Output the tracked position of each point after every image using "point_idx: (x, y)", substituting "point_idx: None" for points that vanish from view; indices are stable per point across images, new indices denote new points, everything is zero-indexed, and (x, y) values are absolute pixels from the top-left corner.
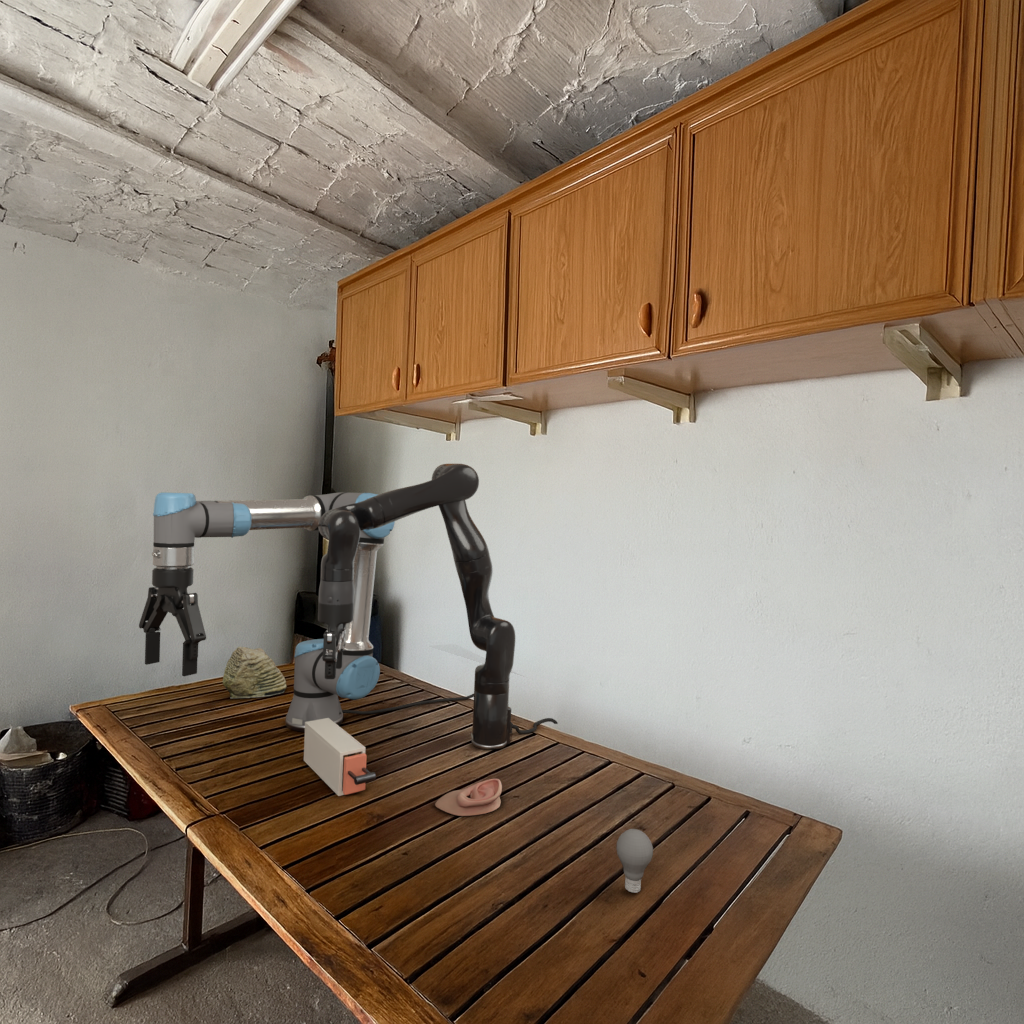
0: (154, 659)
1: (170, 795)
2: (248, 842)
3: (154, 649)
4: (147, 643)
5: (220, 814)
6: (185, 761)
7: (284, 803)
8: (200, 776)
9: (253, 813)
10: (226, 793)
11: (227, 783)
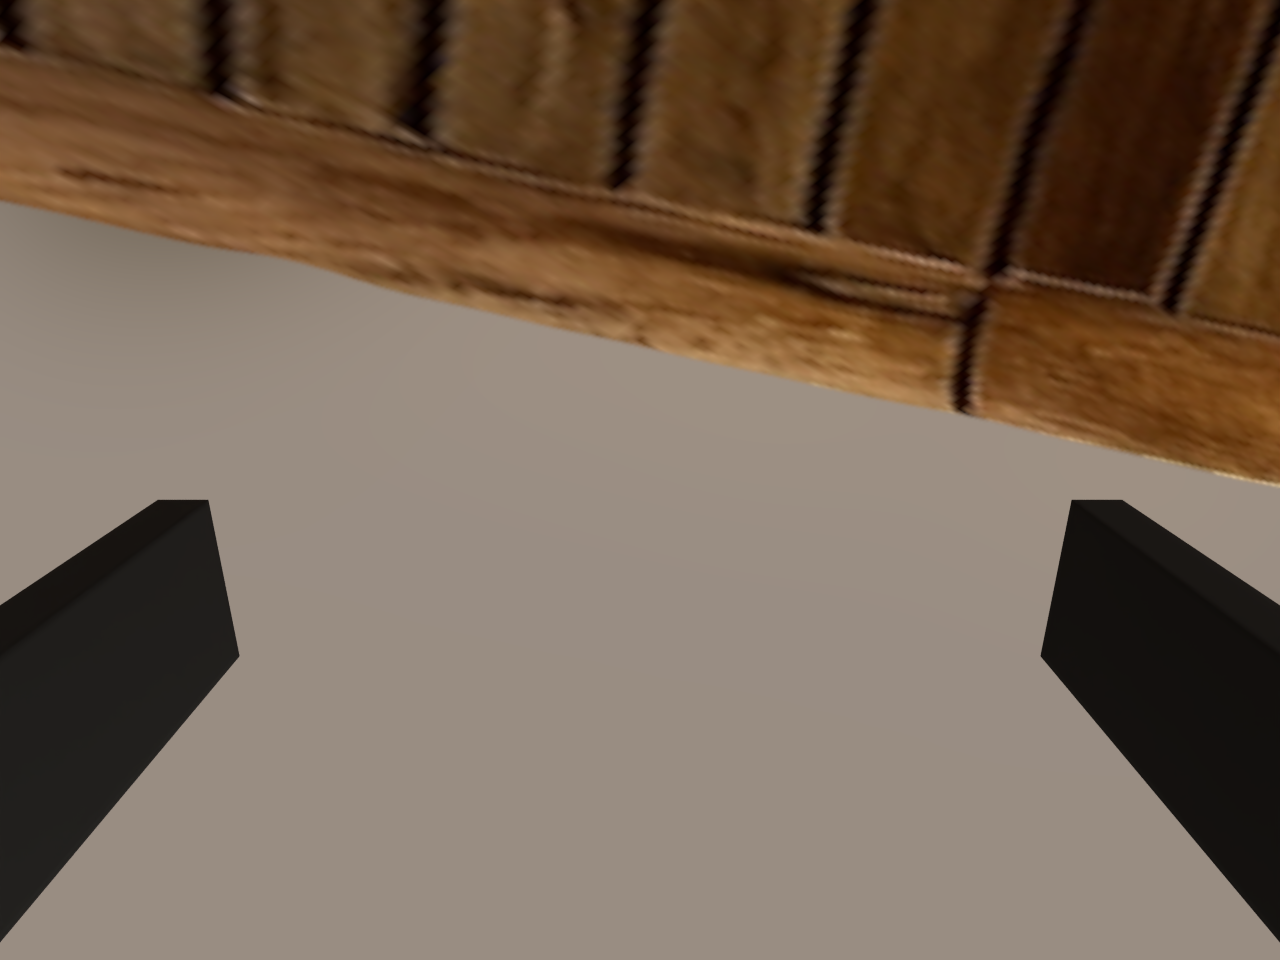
0: (196, 591)
1: (666, 311)
2: (1268, 351)
3: (104, 681)
4: (45, 882)
5: (999, 282)
6: (345, 34)
7: (1189, 26)
8: (588, 101)
9: (1122, 189)
10: (860, 140)
11: (772, 64)
